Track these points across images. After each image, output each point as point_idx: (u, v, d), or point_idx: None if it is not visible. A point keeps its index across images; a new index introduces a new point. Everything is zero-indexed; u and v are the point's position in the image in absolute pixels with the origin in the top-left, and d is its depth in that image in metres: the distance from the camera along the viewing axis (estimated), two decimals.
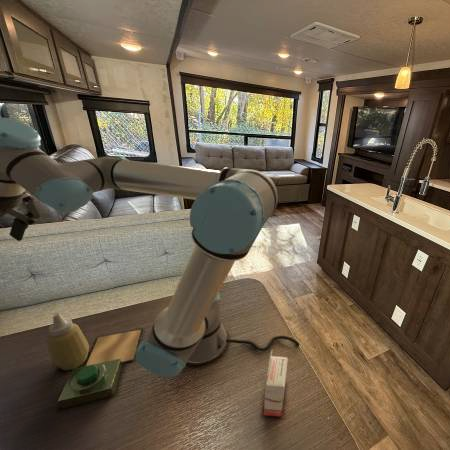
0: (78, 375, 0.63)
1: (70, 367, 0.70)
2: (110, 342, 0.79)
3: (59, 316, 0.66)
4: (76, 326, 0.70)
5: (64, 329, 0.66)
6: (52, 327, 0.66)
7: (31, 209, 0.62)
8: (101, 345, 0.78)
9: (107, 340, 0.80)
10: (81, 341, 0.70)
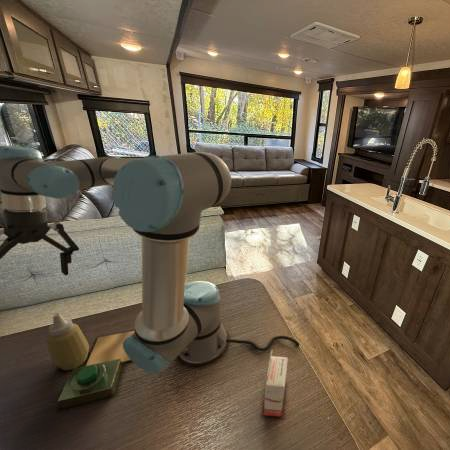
0: (78, 375, 0.63)
1: (70, 367, 0.70)
2: (110, 342, 0.79)
3: (59, 316, 0.66)
4: (76, 326, 0.70)
5: (64, 329, 0.66)
6: (52, 327, 0.66)
7: (65, 238, 0.72)
8: (101, 345, 0.78)
9: (107, 340, 0.80)
10: (81, 341, 0.70)
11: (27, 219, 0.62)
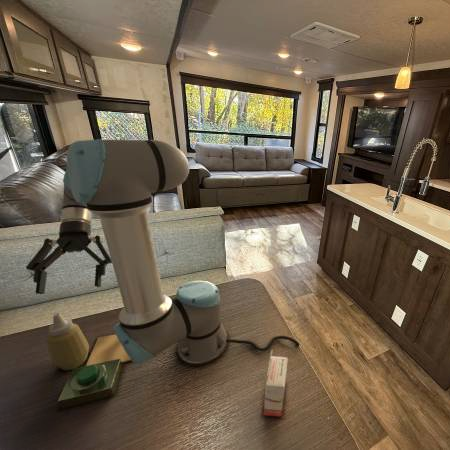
0: (78, 375, 0.63)
1: (70, 367, 0.70)
2: (110, 342, 0.79)
3: (59, 316, 0.66)
4: (76, 326, 0.70)
5: (64, 329, 0.66)
6: (52, 327, 0.66)
7: (100, 248, 0.79)
8: (101, 345, 0.78)
9: (107, 340, 0.80)
10: (81, 341, 0.70)
11: (67, 225, 0.76)
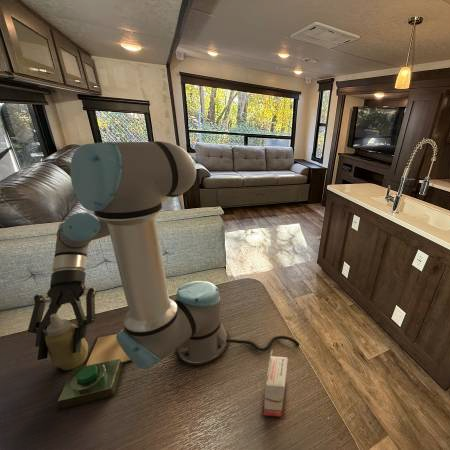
0: (78, 375, 0.63)
1: (70, 367, 0.70)
2: (110, 342, 0.79)
3: (56, 316, 0.66)
4: (74, 326, 0.70)
5: (62, 329, 0.66)
6: (50, 328, 0.66)
7: (87, 304, 0.72)
8: (101, 345, 0.78)
9: (107, 340, 0.80)
10: None
11: (58, 275, 0.70)
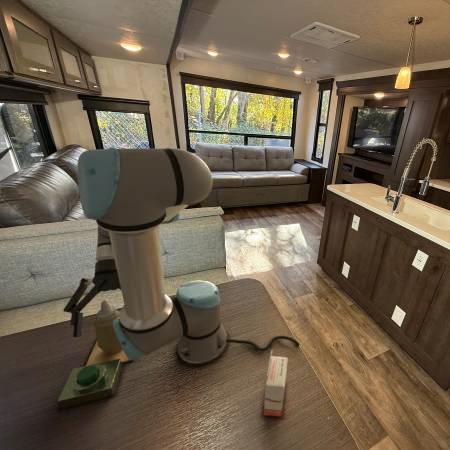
0: (78, 375, 0.63)
1: (114, 351, 0.75)
2: None
3: (106, 303, 0.71)
4: (119, 313, 0.75)
5: (110, 315, 0.72)
6: (99, 313, 0.71)
7: None
8: None
9: None
10: None
11: (103, 264, 0.75)
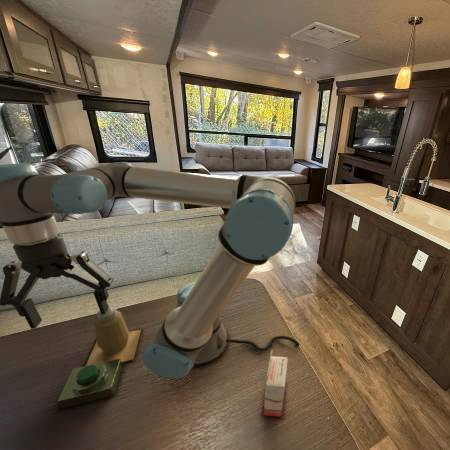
0: (78, 375, 0.63)
1: (114, 351, 0.75)
2: None
3: None
4: (119, 313, 0.75)
5: (110, 315, 0.72)
6: (99, 313, 0.71)
7: (89, 272, 0.57)
8: None
9: None
10: (124, 327, 0.76)
11: (25, 254, 0.50)
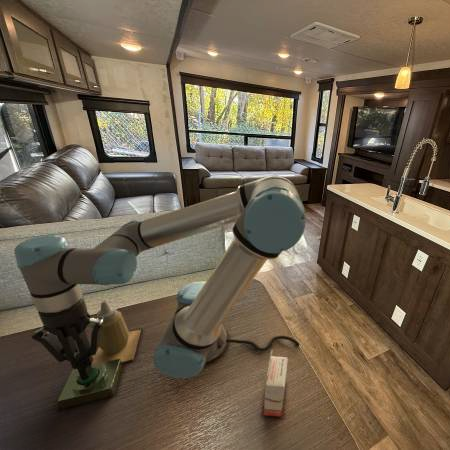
0: (79, 377, 0.63)
1: (114, 351, 0.75)
2: None
3: (106, 303, 0.71)
4: (119, 313, 0.75)
5: (110, 315, 0.72)
6: (99, 313, 0.71)
7: (92, 339, 0.60)
8: None
9: None
10: (124, 327, 0.76)
11: (51, 321, 0.52)
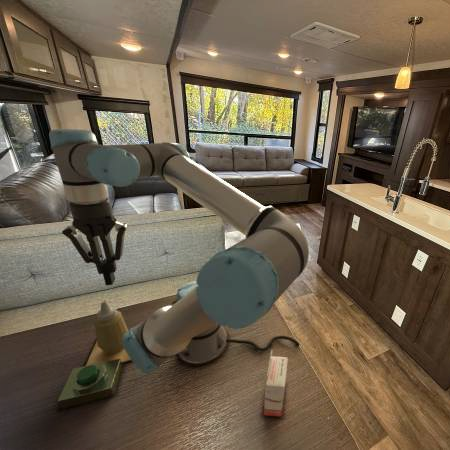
0: (78, 375, 0.63)
1: (114, 351, 0.75)
2: None
3: (106, 303, 0.71)
4: (119, 313, 0.75)
5: (110, 315, 0.72)
6: (99, 313, 0.71)
7: (117, 242, 0.63)
8: None
9: None
10: (124, 327, 0.76)
11: (81, 212, 0.55)
